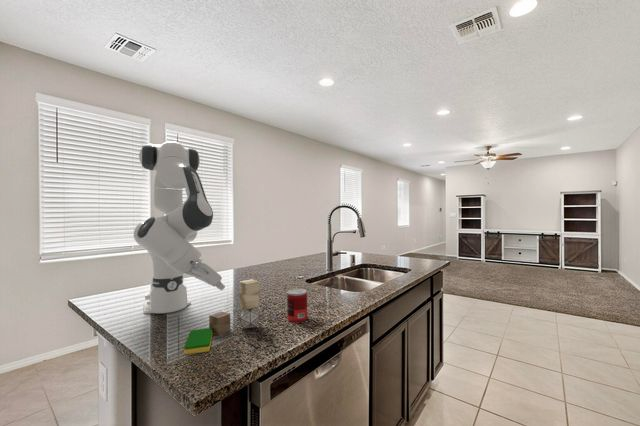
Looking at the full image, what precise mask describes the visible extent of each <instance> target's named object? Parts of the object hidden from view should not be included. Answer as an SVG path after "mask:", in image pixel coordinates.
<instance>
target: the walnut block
mask: <svg viewBox="0 0 640 426" xmlns="http://www.w3.org/2000/svg"><path fill="white" fill-rule="evenodd" d="M208 321H209V322H208V323H209V327H208V328H213V329H212V330H213V334H212V335H217V336H221V335H222V334H225V333H227V332H229V331H230V332H231V313H230V312H229V313H228V312H224V311H221V310H220V311H218V312H215V313H212V314H209V315H208Z"/></svg>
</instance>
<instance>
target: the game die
mask: <svg viewBox="0 0 640 426" xmlns="http://www.w3.org/2000/svg"><path fill="white" fill-rule="evenodd" d="M240 312H241V313H240V315H239V317H238V318H237V320H239V322H240V325H241V326H242V330H241V331H242V332H243V331H244V330H245V329H252V328H255V329H256V330H258V329H259V328H258V327H257V326H258V324H259V320H260V318H261V317H262V316H263V315H262V314H260V313H259V311H258V309H257V307H255V308H251V309H247V310H246V309H244V308H242V309H241V311H240Z"/></svg>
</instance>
